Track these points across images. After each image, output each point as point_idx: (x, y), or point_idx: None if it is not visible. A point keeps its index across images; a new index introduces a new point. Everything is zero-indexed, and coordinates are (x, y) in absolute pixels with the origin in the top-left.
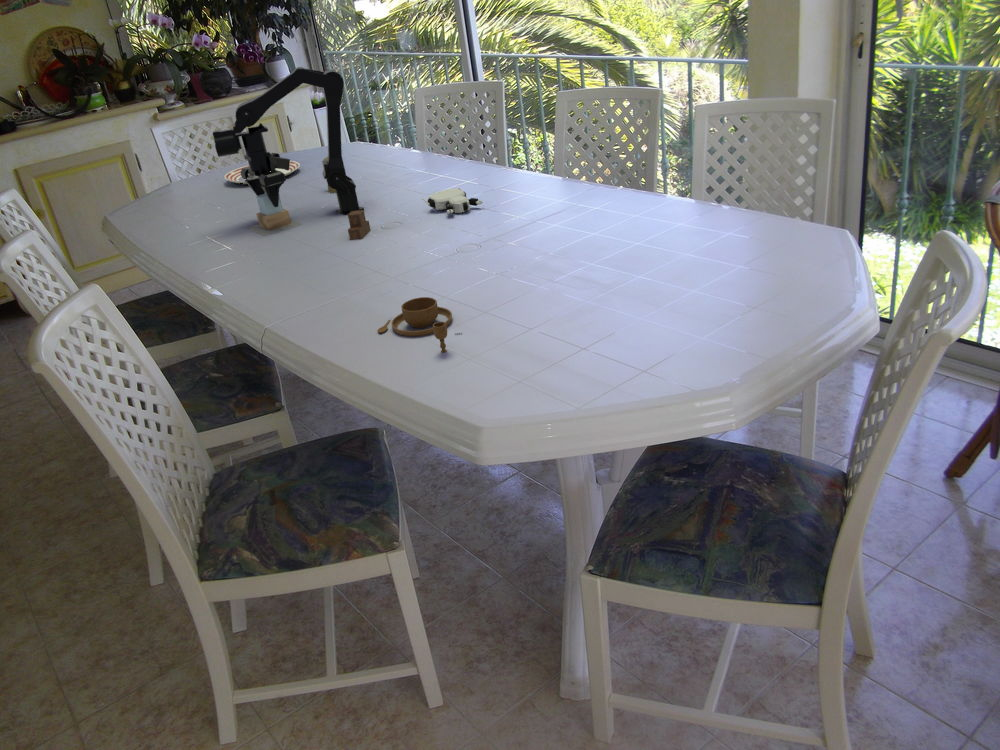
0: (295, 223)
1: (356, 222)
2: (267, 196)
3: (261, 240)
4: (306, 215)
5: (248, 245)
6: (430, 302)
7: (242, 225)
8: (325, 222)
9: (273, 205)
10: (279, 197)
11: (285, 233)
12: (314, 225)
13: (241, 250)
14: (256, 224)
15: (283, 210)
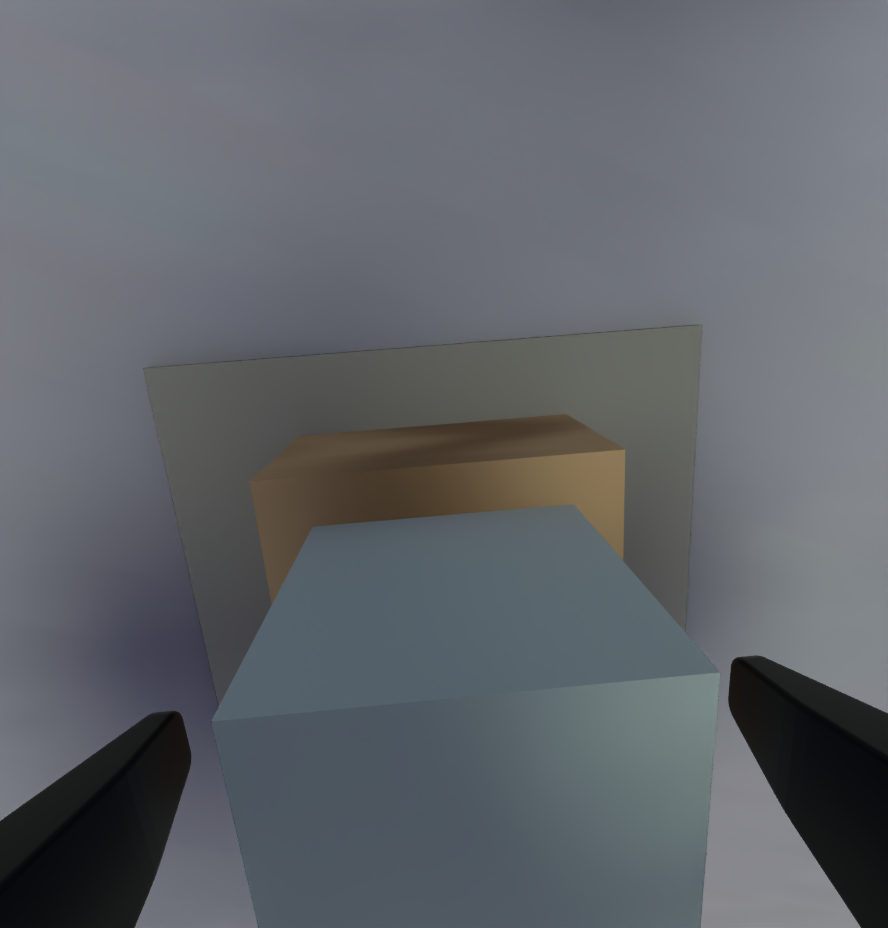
0: (596, 376)
1: None
2: (621, 919)
3: (745, 751)
4: (328, 118)
5: (761, 846)
6: None
7: (75, 751)
8: (882, 84)
9: (761, 747)
10: (676, 631)
11: (777, 554)
12: (847, 237)
13: (822, 902)
14: (210, 669)
15: (544, 494)
